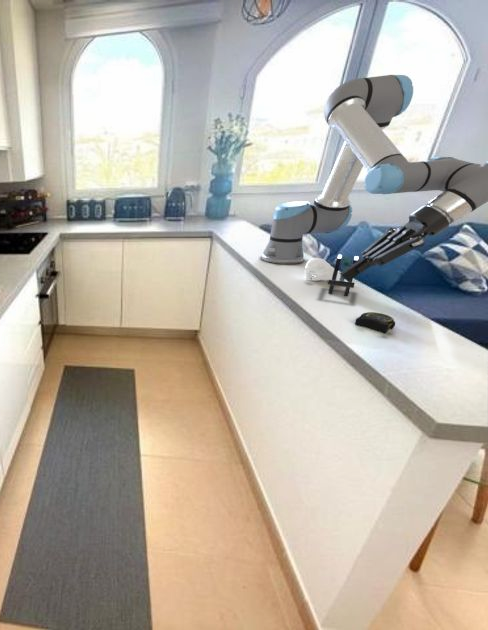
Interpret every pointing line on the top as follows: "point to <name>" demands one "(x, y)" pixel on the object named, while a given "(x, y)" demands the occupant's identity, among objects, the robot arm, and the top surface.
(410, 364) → the top surface
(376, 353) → the top surface
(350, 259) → the lever
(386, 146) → the robot arm
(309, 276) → the white lumpy piece
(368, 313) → the tape measure
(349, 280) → the bracket
